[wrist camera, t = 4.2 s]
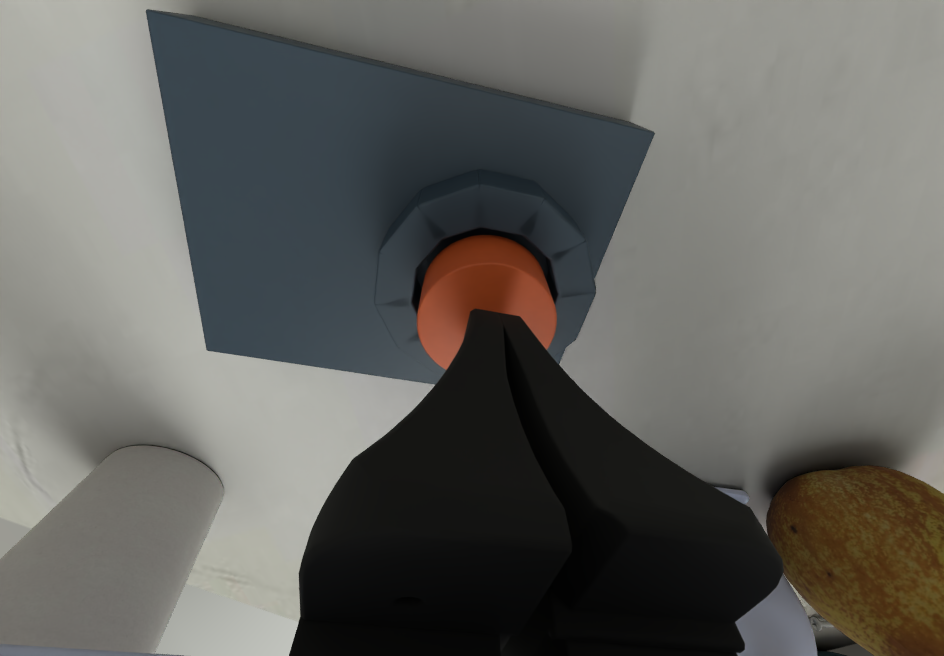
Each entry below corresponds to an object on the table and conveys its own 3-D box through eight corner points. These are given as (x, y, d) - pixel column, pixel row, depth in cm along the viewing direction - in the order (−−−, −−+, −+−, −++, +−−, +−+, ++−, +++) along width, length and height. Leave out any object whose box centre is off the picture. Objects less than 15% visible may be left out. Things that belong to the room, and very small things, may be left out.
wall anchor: (817, 616, 35) (823, 630, 35) (904, 619, 36) (911, 633, 36) (807, 617, 36) (813, 631, 35) (893, 620, 37) (900, 634, 36)
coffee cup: (160, 402, 21) (-297, 926, 8) (283, 504, 26) (111, 931, 13) (33, 457, 23) (-484, 939, 10) (169, 541, 28) (-73, 939, 15)
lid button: (562, 247, 13) (577, 278, 11) (526, 350, 15) (534, 389, 13) (433, 222, 12) (427, 249, 10) (414, 332, 14) (408, 370, 13)
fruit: (876, 517, 27) (1113, 785, 17) (734, 533, 28) (881, 796, 18) (932, 428, 23) (1301, 725, 13) (758, 450, 23) (976, 745, 13)
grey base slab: (631, 121, 14) (682, 143, 11) (536, 369, 20) (550, 432, 17) (192, 15, 12) (90, 1, 9) (232, 320, 18) (179, 380, 15)
